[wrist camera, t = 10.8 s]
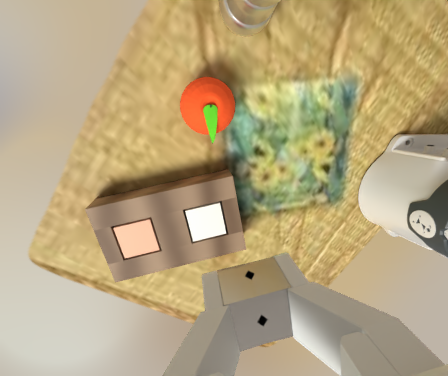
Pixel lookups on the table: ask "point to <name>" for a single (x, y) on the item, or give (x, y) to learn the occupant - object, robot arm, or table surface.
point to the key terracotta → (137, 237)
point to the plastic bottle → (246, 15)
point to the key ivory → (205, 221)
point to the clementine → (207, 106)
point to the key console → (167, 223)
